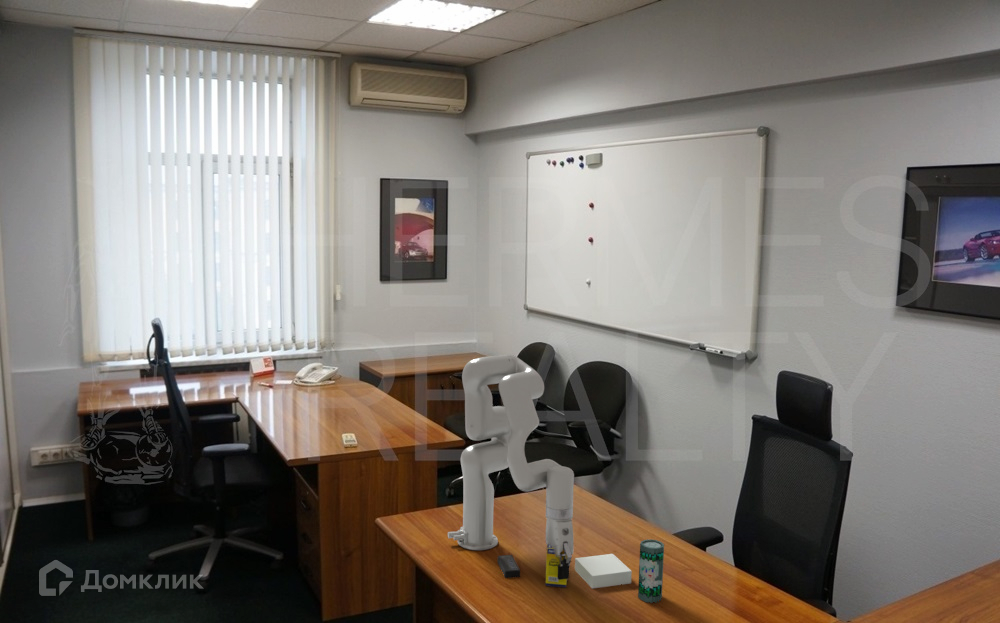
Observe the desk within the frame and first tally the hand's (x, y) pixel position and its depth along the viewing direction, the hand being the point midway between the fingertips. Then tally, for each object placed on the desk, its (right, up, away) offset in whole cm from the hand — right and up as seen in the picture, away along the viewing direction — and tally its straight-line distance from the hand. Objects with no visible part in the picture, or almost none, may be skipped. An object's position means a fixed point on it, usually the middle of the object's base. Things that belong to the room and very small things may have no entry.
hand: (557, 571), depth 215 cm
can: (+24, -5, -8) cm, 26 cm away
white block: (+13, -3, +5) cm, 14 cm away
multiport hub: (-14, -2, +8) cm, 16 cm away
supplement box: (0, -3, 0) cm, 3 cm away
